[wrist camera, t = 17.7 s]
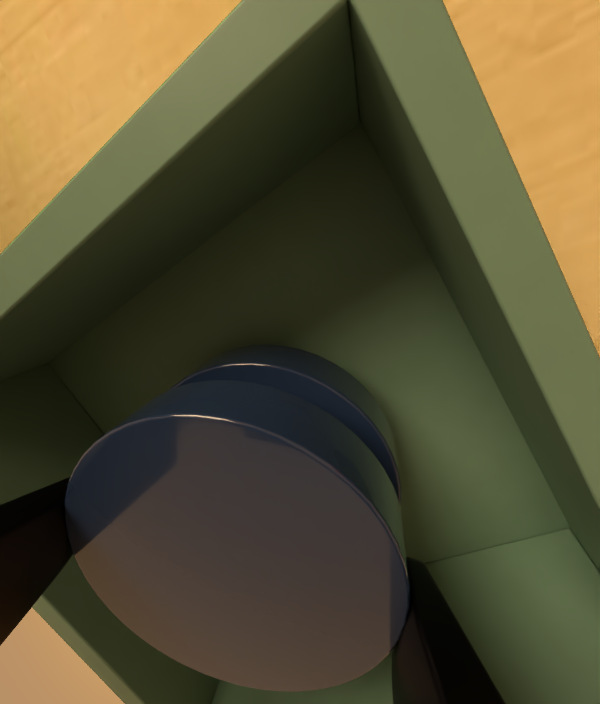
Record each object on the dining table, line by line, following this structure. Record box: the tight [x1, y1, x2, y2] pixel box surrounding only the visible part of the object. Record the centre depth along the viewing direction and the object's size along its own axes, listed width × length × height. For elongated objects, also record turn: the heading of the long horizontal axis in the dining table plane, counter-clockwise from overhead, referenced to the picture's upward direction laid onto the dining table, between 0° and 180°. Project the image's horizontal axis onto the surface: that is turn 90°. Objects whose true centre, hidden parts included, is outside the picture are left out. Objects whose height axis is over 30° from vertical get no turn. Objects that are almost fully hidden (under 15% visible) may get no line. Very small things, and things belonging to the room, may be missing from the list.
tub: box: [0, 0, 600, 704], centre depth 9 cm, size 15×15×5 cm
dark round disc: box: [169, 344, 402, 508], centre depth 10 cm, size 7×7×2 cm
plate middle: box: [64, 380, 410, 692], centre depth 8 cm, size 7×7×2 cm
